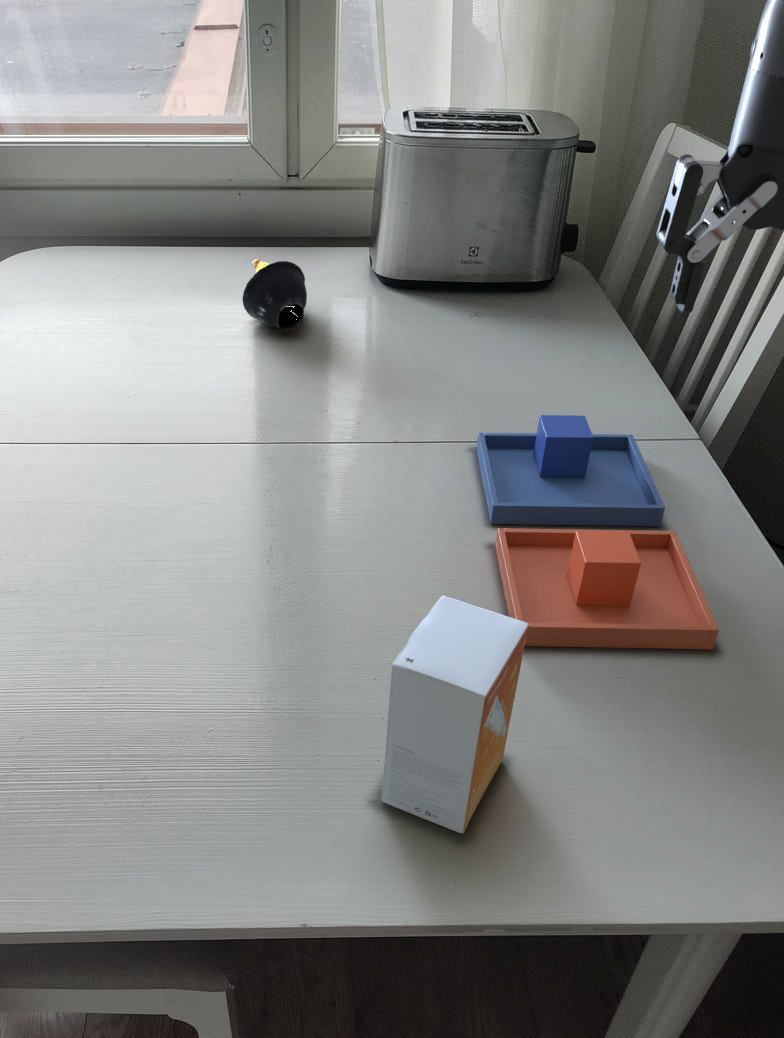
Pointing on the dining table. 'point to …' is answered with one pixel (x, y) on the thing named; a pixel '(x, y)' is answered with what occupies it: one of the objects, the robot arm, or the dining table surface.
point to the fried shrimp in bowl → (276, 294)
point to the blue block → (562, 446)
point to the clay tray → (644, 624)
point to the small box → (451, 711)
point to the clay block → (603, 568)
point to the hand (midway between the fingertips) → (741, 309)
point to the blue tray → (567, 484)
